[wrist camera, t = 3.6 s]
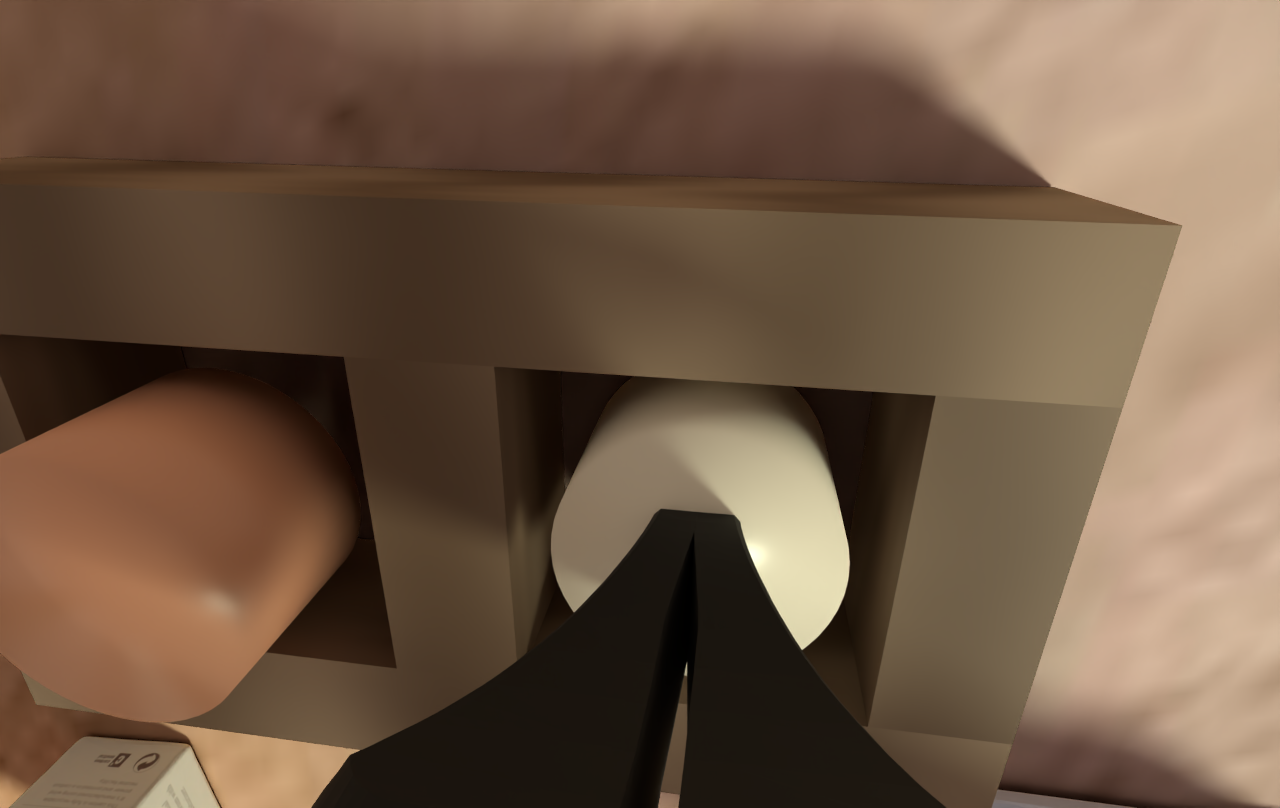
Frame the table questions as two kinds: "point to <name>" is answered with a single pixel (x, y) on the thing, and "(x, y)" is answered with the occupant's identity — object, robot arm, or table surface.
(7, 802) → the table surface
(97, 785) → the skincare box
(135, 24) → the table surface
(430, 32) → the table surface
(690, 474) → the cream oval piece
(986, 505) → the brown compartment tray
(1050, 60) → the table surface
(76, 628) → the brown egg
